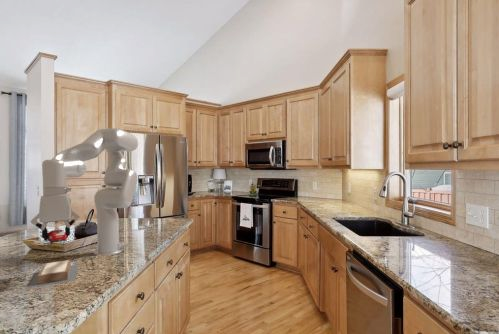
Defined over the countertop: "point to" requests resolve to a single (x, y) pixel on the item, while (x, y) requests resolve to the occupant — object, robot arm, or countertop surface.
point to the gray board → (71, 278)
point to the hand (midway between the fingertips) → (56, 238)
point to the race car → (56, 236)
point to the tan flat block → (54, 272)
